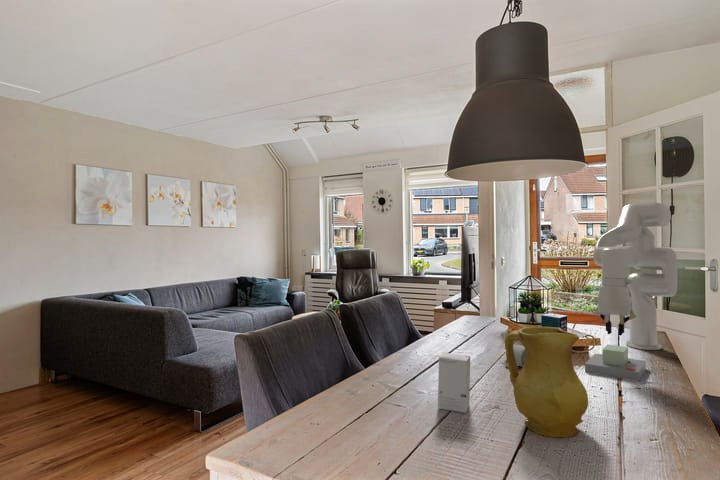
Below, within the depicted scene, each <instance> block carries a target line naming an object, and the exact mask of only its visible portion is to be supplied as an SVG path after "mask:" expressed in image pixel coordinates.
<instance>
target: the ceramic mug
mask: <svg viewBox="0 0 720 480" xmlns="http://www.w3.org/2000/svg"><path fill="white" fill-rule="evenodd" d="M513 350H514V355H515V359H516V363H517V367H518V368H519V367H521V368H523V365H524V362H525V356H526V351H525V347H524V346H523V345H522V344H521V345H520V344H513ZM504 366H505V367H506V368H507V369H509V366H508V363H507V358H506V359H505V360H504Z"/></svg>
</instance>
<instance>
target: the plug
mask: <svg viewBox="0 0 720 480" xmlns="http://www.w3.org/2000/svg"><path fill="white" fill-rule="evenodd" d="M602 355H603V363H604V364H610V365H614V366H622V367H624V366H625V365H626V363H628V358H629V346H623V345H621V346H620V345H616V344H615V345H614V344H607V345H605V346H604V347H603V348H602Z"/></svg>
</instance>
